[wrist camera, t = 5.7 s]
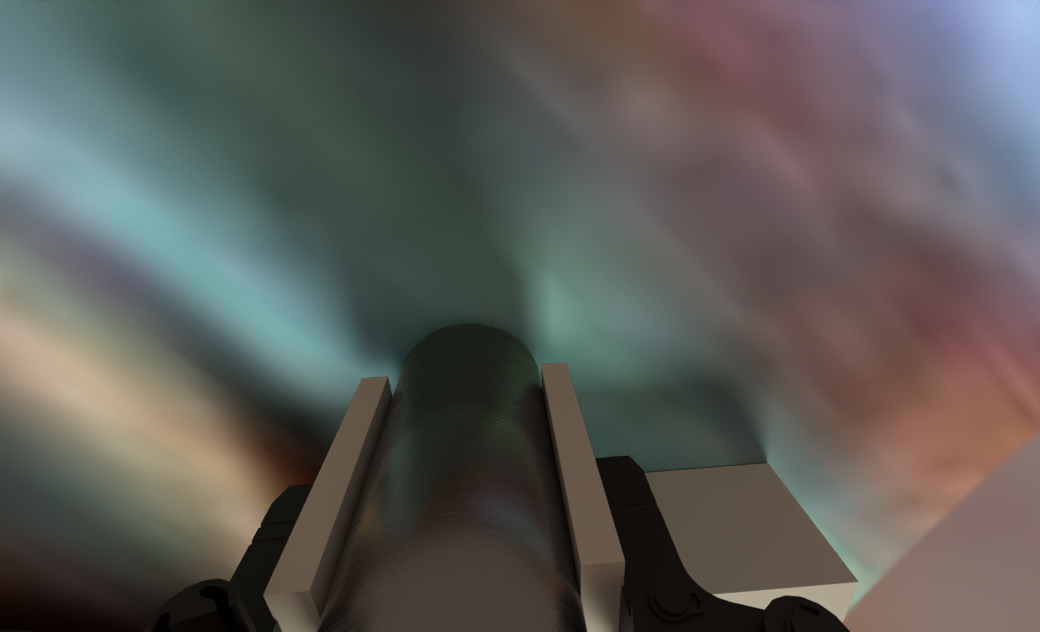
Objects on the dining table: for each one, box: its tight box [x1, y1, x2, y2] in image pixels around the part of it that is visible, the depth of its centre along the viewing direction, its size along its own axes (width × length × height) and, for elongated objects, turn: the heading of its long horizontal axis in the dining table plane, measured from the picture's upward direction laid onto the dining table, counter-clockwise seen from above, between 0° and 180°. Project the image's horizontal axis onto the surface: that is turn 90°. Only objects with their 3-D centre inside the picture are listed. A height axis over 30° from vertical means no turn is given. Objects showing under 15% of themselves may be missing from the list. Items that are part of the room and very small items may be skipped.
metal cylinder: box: [317, 324, 587, 632], centre depth 10 cm, size 5×5×12 cm
